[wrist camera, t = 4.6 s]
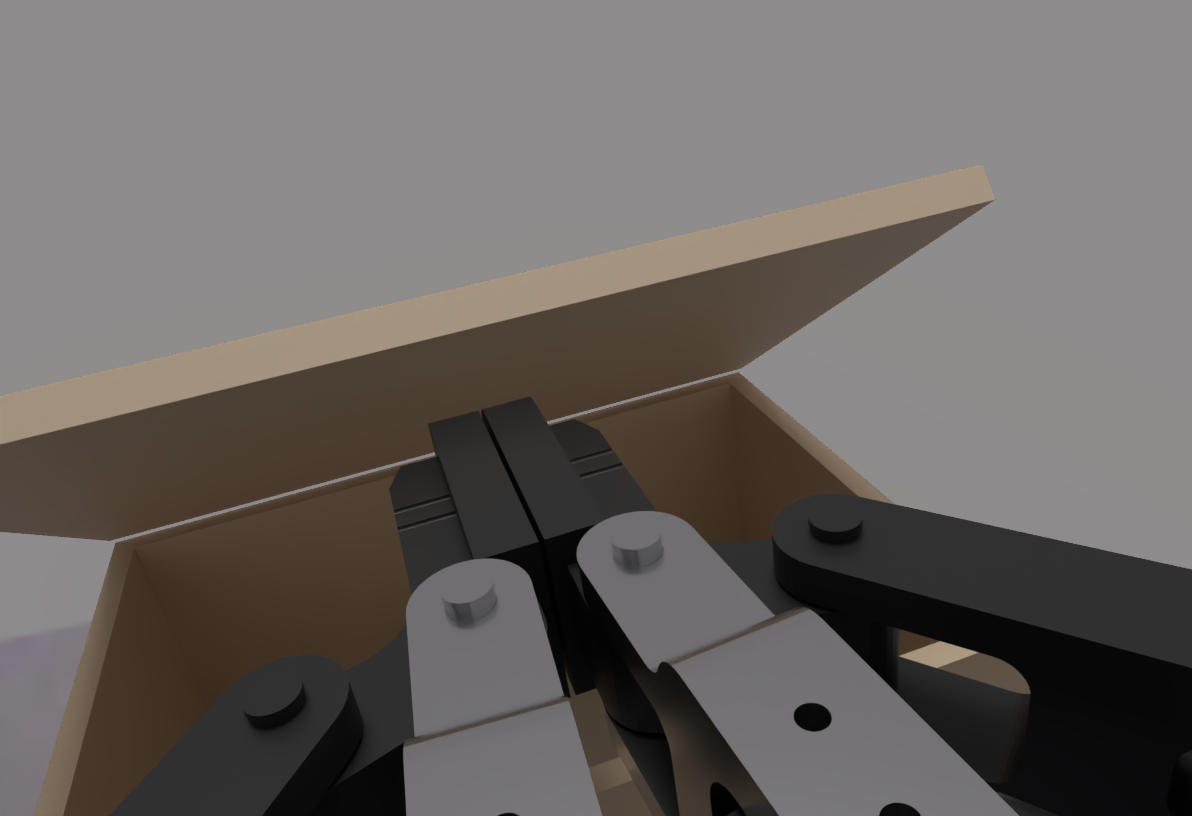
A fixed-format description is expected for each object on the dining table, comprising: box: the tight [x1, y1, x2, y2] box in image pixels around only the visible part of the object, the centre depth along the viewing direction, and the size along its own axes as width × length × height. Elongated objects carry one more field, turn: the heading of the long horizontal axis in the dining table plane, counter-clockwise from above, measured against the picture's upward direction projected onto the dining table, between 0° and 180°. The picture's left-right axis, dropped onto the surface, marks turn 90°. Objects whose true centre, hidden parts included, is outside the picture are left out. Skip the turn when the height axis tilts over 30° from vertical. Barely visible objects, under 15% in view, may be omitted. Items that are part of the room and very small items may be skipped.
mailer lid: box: [0, 165, 995, 541], centre depth 18 cm, size 17×12×1 cm
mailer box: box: [34, 373, 1030, 816], centre depth 21 cm, size 17×12×9 cm
